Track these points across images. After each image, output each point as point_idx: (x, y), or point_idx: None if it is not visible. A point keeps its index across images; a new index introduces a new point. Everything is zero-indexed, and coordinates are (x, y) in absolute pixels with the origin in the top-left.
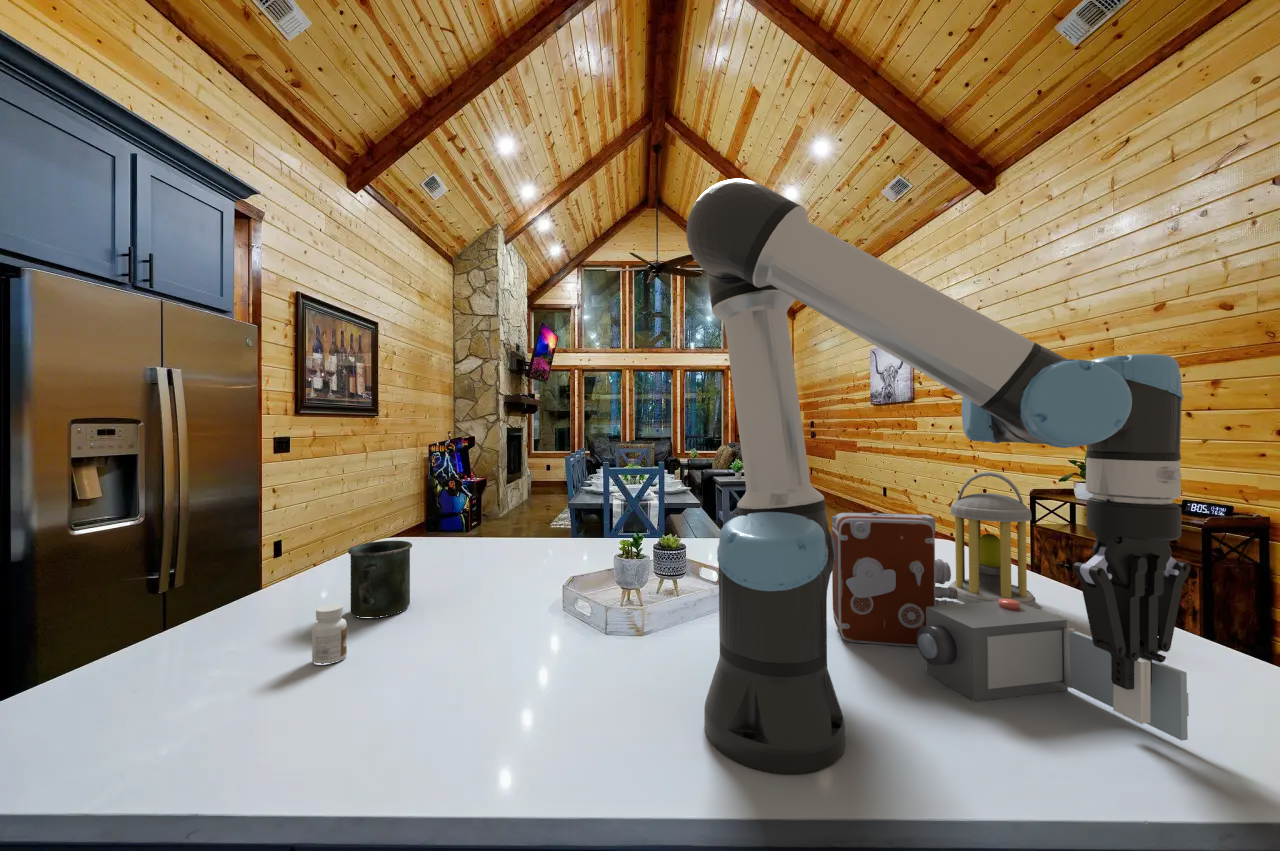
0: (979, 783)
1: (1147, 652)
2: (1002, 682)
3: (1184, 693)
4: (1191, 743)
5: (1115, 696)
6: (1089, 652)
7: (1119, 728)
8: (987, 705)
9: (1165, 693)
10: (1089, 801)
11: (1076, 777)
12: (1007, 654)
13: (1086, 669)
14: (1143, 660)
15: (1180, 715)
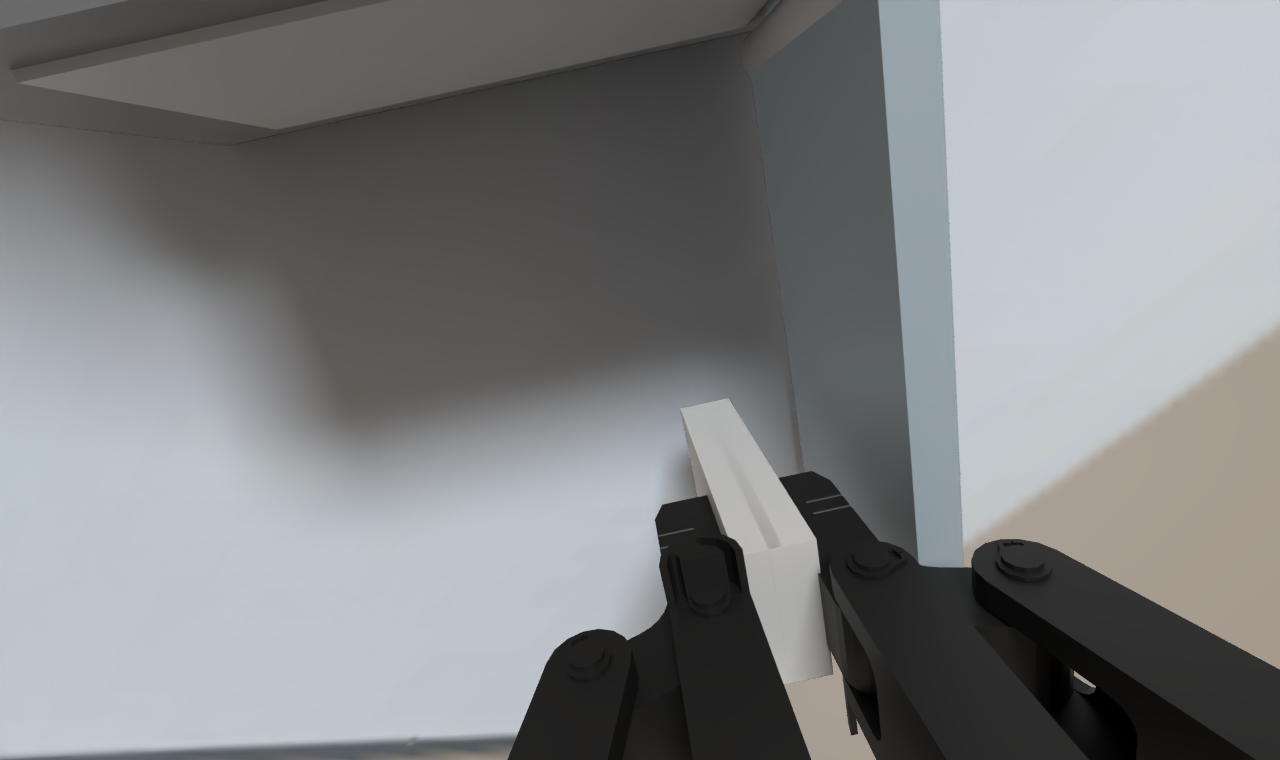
0: (45, 643)
1: (850, 702)
2: (351, 108)
3: None
4: None
5: (691, 442)
6: (845, 170)
7: (714, 356)
8: (279, 181)
9: None
10: (323, 689)
11: (354, 608)
12: (315, 70)
13: (799, 157)
14: (799, 668)
15: None
